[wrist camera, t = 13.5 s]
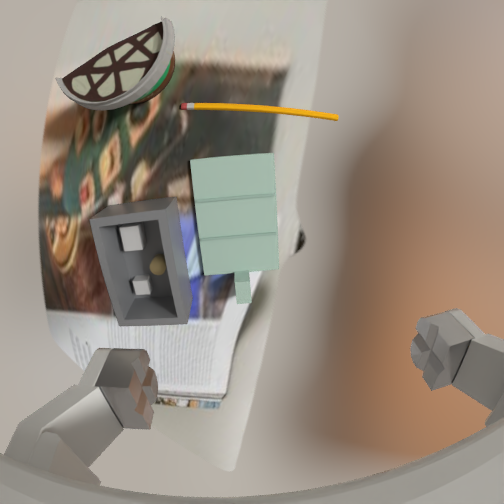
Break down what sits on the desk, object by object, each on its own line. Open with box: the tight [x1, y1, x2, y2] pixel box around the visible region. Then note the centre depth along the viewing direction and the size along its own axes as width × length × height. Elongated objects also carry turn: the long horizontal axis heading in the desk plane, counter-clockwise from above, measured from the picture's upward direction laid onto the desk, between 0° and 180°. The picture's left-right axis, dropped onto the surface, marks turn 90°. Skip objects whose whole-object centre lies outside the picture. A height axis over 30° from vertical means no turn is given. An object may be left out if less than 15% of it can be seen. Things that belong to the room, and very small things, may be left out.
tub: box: [89, 197, 193, 326], centre depth 35 cm, size 14×9×6 cm, turn 4°
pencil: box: [181, 103, 338, 121], centre depth 32 cm, size 1×18×1 cm, turn 87°
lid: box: [190, 153, 279, 304], centre depth 35 cm, size 17×10×4 cm, turn 4°
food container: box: [56, 16, 175, 110], centre depth 25 cm, size 12×6×10 cm, turn 111°
